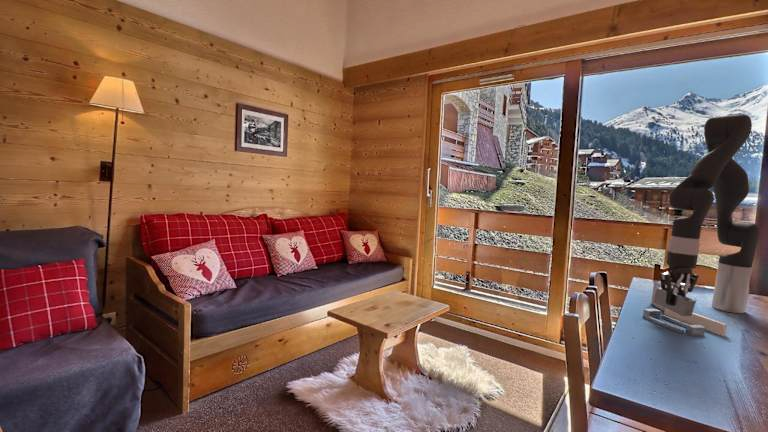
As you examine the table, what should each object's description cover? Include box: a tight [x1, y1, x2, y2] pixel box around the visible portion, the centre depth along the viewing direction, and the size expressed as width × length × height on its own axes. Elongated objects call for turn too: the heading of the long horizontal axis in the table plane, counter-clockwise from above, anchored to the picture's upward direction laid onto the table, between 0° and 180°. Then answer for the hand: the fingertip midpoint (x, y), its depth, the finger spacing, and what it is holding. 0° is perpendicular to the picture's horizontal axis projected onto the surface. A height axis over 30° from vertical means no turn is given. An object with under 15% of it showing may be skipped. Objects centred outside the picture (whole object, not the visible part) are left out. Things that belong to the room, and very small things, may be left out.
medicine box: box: [651, 281, 677, 312], centre depth 140 cm, size 8×4×9 cm, turn 168°
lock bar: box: [653, 288, 697, 316], centre depth 122 cm, size 4×10×5 cm, turn 16°
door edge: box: [663, 308, 728, 337], centre depth 124 cm, size 2×18×4 cm, turn 15°
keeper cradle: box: [642, 308, 706, 337], centre depth 122 cm, size 8×16×2 cm, turn 16°
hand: (674, 304), depth 121 cm, fingers closed on lock bar, 3 cm apart
